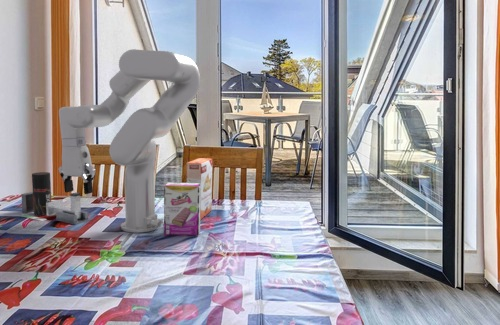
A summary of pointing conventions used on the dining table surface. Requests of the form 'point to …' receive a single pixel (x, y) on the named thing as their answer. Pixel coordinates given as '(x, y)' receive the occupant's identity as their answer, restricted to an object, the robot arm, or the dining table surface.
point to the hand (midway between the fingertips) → (78, 192)
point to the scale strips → (39, 218)
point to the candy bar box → (182, 208)
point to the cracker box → (202, 181)
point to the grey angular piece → (58, 207)
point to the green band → (27, 216)
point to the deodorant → (41, 192)
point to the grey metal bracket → (72, 217)
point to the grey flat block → (27, 202)
